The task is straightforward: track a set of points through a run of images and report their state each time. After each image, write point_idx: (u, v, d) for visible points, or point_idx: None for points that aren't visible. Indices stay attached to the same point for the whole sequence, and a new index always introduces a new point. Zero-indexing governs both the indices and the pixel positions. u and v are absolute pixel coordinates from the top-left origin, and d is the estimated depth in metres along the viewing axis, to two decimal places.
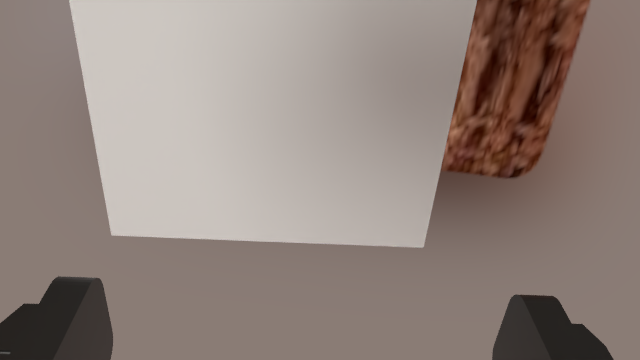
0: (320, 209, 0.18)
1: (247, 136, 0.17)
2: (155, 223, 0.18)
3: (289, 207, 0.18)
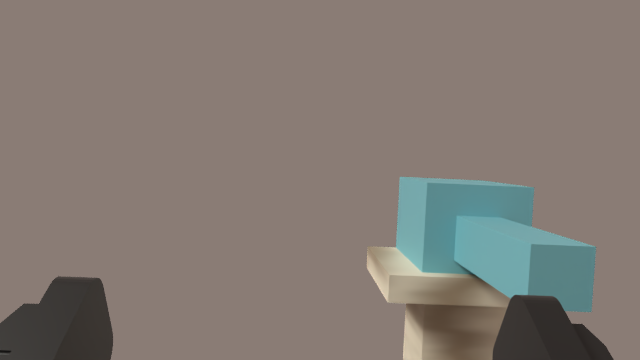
0: None
1: None
2: None
3: None
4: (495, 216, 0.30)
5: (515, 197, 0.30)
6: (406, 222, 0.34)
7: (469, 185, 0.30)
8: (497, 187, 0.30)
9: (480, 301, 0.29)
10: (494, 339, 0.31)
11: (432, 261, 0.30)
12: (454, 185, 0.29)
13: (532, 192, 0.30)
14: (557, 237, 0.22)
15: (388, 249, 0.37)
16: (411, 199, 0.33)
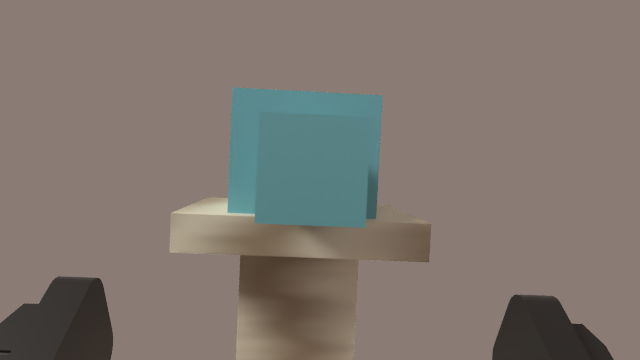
0: None
1: None
2: None
3: None
4: None
5: (357, 109, 0.21)
6: None
7: (292, 92, 0.21)
8: (331, 95, 0.21)
9: (301, 250, 0.21)
10: (337, 308, 0.23)
11: (242, 197, 0.21)
12: (271, 91, 0.21)
13: (380, 102, 0.22)
14: None
15: None
16: None
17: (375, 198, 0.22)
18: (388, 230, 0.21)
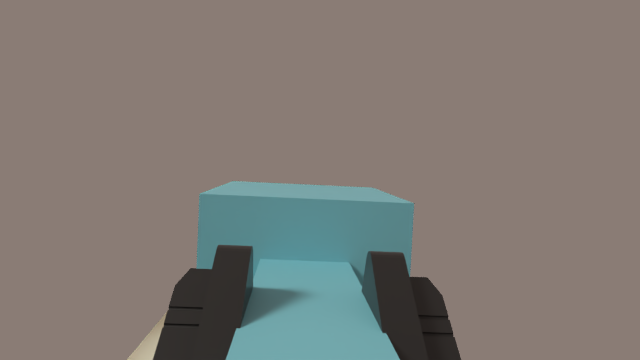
0: None
1: None
2: None
3: None
4: (337, 260, 0.15)
5: (378, 223, 0.15)
6: None
7: (285, 199, 0.15)
8: (341, 203, 0.15)
9: None
10: None
11: None
12: (255, 199, 0.15)
13: (411, 212, 0.15)
14: None
15: None
16: None
17: None
18: None
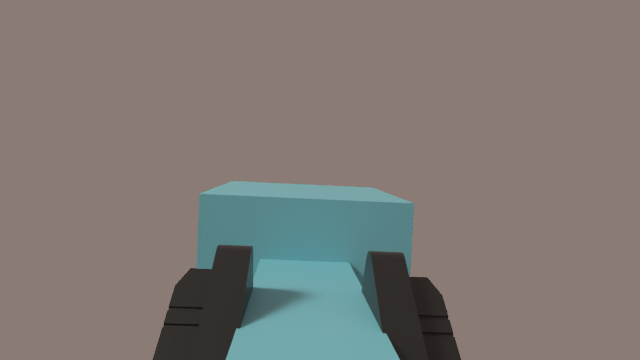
0: None
1: None
2: None
3: None
4: (337, 260, 0.15)
5: (378, 223, 0.15)
6: None
7: (285, 199, 0.15)
8: (341, 203, 0.15)
9: None
10: None
11: None
12: (255, 199, 0.15)
13: (411, 213, 0.15)
14: None
15: None
16: None
17: None
18: None
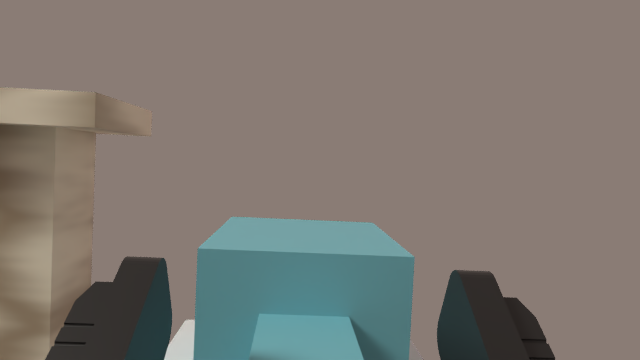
0: None
1: None
2: None
3: None
4: (336, 315, 0.15)
5: (378, 277, 0.15)
6: None
7: (284, 253, 0.15)
8: (341, 257, 0.15)
9: None
10: (36, 179, 0.25)
11: None
12: (253, 253, 0.15)
13: (411, 266, 0.15)
14: None
15: None
16: None
17: None
18: (56, 97, 0.23)
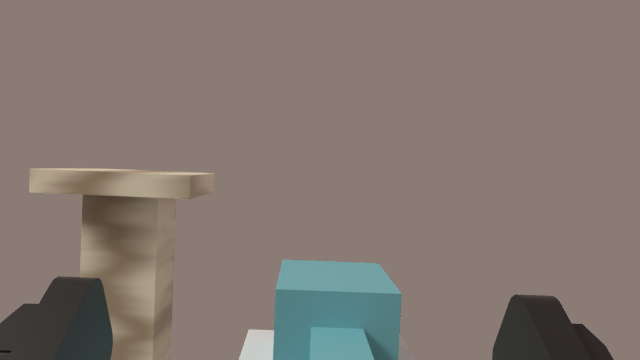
0: None
1: None
2: None
3: None
4: (356, 327, 0.25)
5: (380, 306, 0.26)
6: None
7: (325, 291, 0.25)
8: (358, 293, 0.26)
9: (110, 191, 0.34)
10: (145, 231, 0.36)
11: None
12: (307, 292, 0.25)
13: (399, 299, 0.26)
14: None
15: None
16: None
17: None
18: (164, 179, 0.34)
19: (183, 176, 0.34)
